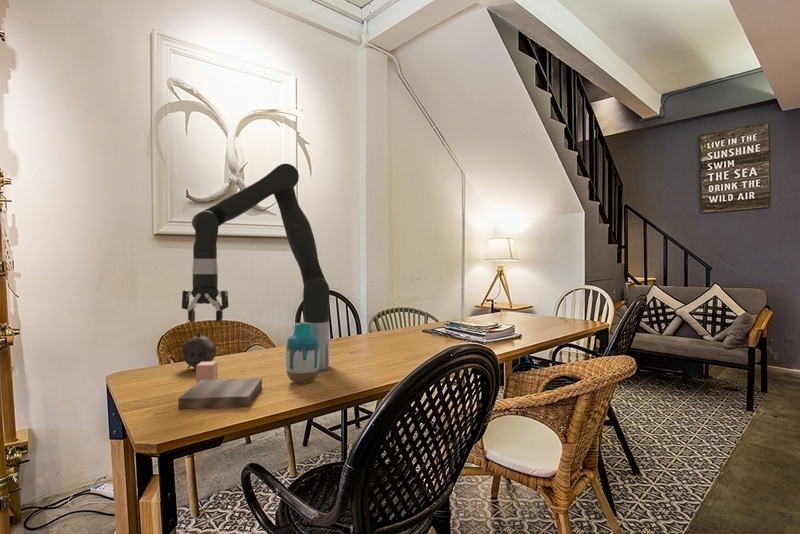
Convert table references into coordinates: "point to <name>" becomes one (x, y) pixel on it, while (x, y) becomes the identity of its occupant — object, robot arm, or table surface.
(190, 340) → the alarm clock
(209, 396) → the walnut base
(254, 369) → the table surface
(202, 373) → the pink block
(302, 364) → the vase
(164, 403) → the table surface
